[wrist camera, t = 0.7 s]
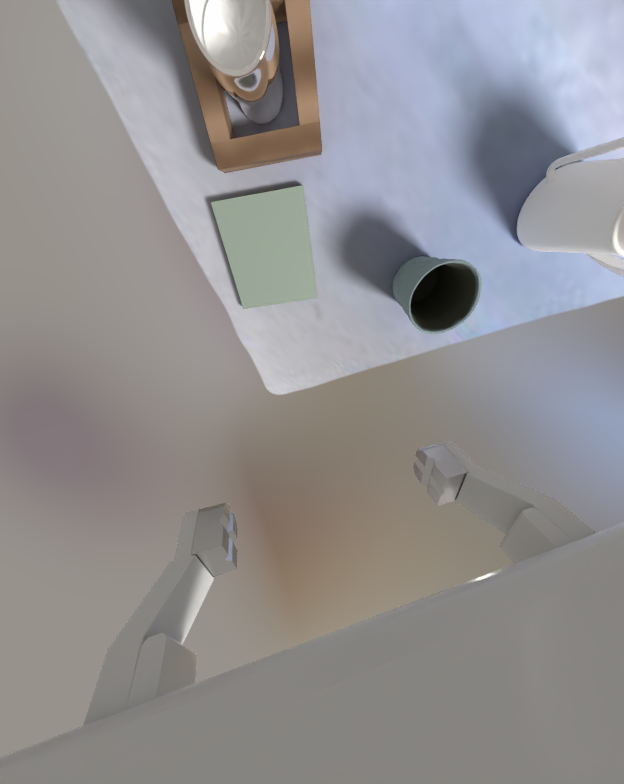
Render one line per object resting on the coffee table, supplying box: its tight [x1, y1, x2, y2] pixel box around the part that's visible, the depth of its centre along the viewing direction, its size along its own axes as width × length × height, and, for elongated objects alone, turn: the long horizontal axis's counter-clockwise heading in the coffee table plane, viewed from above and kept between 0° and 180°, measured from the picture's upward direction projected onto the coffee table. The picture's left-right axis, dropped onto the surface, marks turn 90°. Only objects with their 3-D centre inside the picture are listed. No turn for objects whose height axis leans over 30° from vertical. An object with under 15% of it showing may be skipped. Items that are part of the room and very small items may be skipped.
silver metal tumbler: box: [184, 0, 283, 124], centre depth 25 cm, size 7×7×15 cm
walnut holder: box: [172, 0, 322, 173], centre depth 29 cm, size 14×14×4 cm
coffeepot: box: [517, 137, 624, 276], centre depth 31 cm, size 11×25×19 cm, turn 50°
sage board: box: [211, 185, 317, 309], centre depth 41 cm, size 16×14×1 cm
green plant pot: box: [392, 256, 482, 334], centre depth 40 cm, size 10×10×12 cm
